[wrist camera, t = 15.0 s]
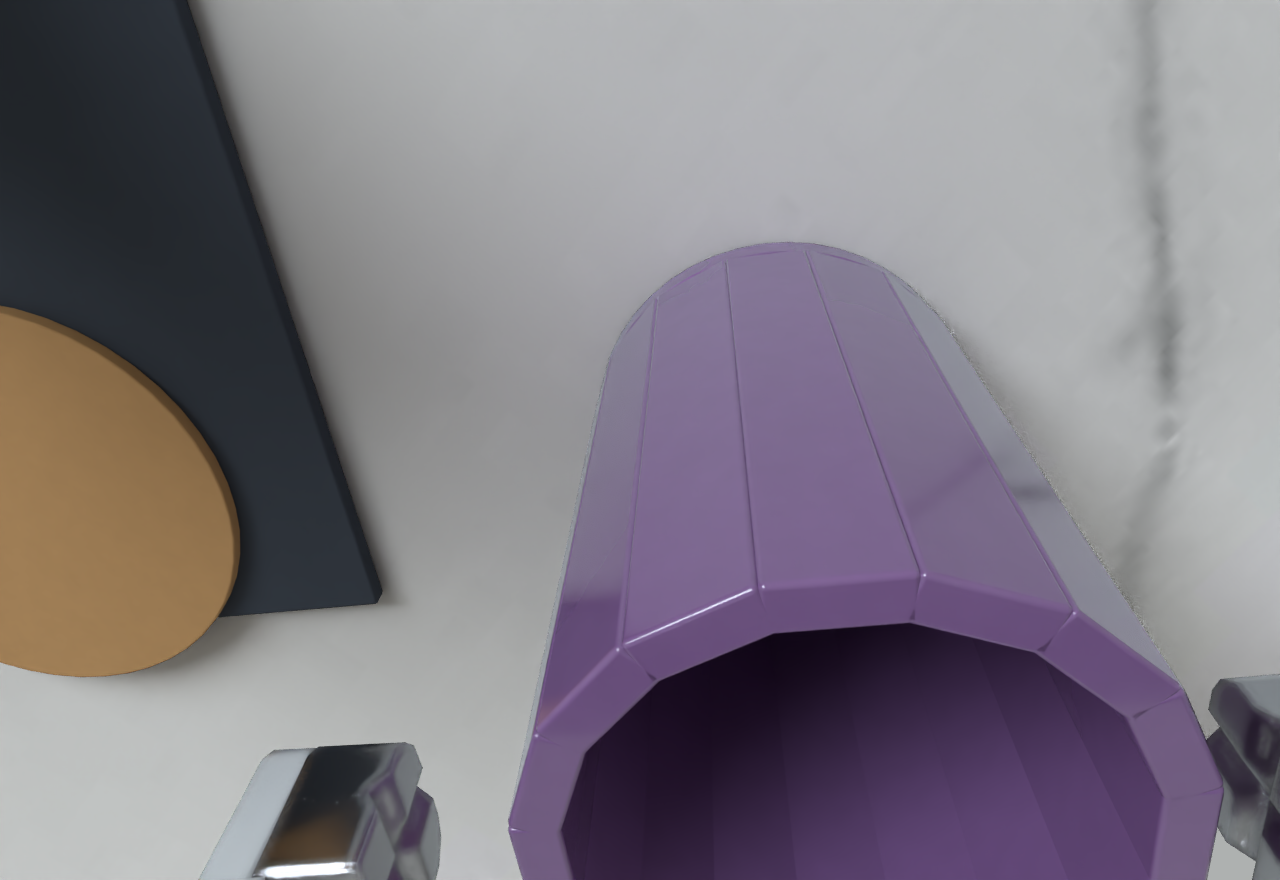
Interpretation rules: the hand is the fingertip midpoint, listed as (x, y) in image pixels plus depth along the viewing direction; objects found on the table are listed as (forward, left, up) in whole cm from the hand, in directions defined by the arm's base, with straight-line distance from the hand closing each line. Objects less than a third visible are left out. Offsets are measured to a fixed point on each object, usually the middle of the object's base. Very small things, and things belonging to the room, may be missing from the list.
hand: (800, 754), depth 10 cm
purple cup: (0, 0, -8) cm, 8 cm away
